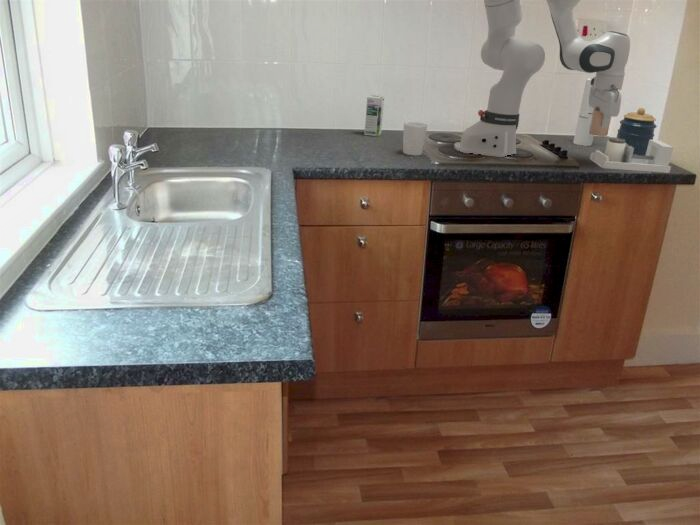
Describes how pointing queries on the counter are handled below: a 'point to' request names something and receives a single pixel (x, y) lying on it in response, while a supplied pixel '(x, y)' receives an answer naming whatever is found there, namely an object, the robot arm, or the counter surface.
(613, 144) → the lane jar
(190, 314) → the counter surface
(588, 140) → the cylindrical container
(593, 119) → the jar
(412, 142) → the white cup
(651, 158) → the pusher
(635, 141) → the canister
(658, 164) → the white tray
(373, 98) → the syrup box
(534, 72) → the robot arm
